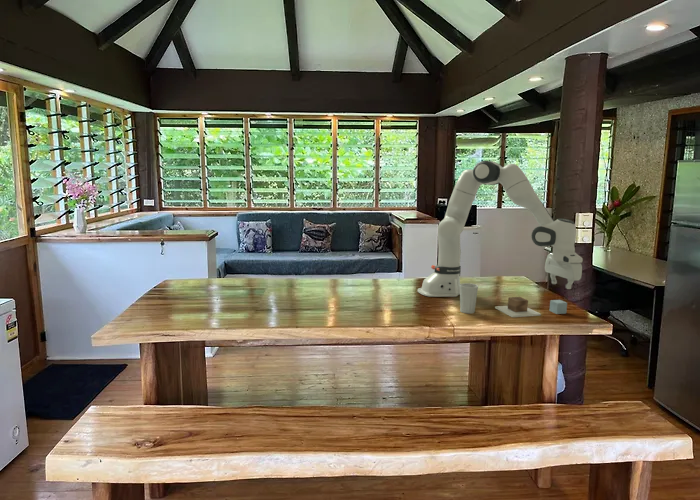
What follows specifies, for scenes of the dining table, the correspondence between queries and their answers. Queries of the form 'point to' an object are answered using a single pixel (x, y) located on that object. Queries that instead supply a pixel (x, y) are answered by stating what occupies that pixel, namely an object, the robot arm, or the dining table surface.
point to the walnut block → (517, 304)
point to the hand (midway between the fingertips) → (561, 286)
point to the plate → (517, 314)
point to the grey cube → (558, 306)
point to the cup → (468, 297)
